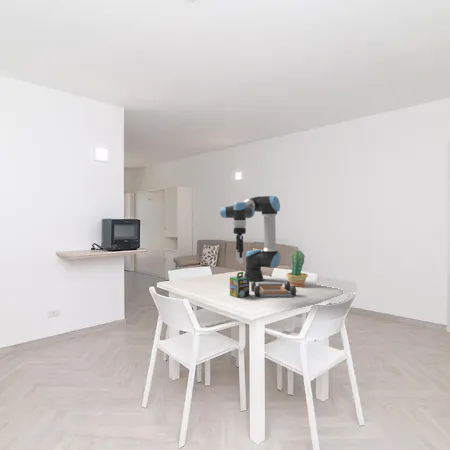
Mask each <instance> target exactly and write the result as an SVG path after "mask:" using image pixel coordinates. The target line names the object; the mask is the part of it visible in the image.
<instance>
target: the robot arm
mask: <svg viewBox="0 0 450 450" xmlns="http://www.w3.org/2000/svg"><path fill="white" fill-rule="evenodd" d="M280 209H281V203H280V200H279V198H278V197H277V196H276V195H268V196H267V195H264V196H263V195H262V196H255V197H251V198H247V199H246V200H244V201H243V202H239V201H238V202H234V203H233V205H230V206H222V207H221V208H220V211H219V212H220V217H221V218H223V219H224V218H225V219H233V222H232V224H233V234H234V235H236V237H235V240H236V242H235V243H236V244H235V249H236V250H235V251H236V252H235V256H236V257H235V261H238V262H237V263H238V264H244V251H245V250H244V236H243V235H245V234H246V232H247V231H246V230H247V229H246V226H247V219H251V218H253V217H254V215H255V213H256V212H257V213H260V212H261V215H262V216H263V239H264V240H263V246H264V247H263V248H262V250H261V249H253V250H252V249H251V250H248V251H246V254H245V271H244V274H243V276H244V277H248V278H249V282H262V281H264V275H263V272H262V268H269V269H277V268H278V267H279V265H280V263H281V257H282V256H281V253H280V252H279V250H278V248H277V247H276V246H277V245H276V244H277V242H276V241H277V240H276V238H277V237H276V235H277V234H276V216H277V215H278V212H279V211H280Z"/></svg>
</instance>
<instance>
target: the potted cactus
mask: <svg viewBox="0 0 450 450" xmlns="http://www.w3.org/2000/svg"><path fill="white" fill-rule="evenodd" d="M290 257H291V259H290V261H291V265H292V266H291V272H286V273H285V276H286V277H287V281H289V282H290V286H295V287H298V288H299V287H303V286H304V284H305V282H306V280H307V277H308V276H309V275H308V274H307V273H303V272H302V269H303V265H304V264H305V257H306V256H305V254H304V253H303V252H302V250H297V249H296V250H294V251H293V252H292V254H291V256H290Z"/></svg>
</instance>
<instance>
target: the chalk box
mask: <svg viewBox="0 0 450 450" xmlns="http://www.w3.org/2000/svg"><path fill="white" fill-rule="evenodd" d="M229 296H231V297H235V298H237V299H240V298H246V297H250V281H249V278H248V277H244V272H243V271H240V272H237V274H236V275H235V276H230V277H229Z"/></svg>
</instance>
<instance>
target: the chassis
mask: <svg viewBox="0 0 450 450" xmlns="http://www.w3.org/2000/svg"><path fill="white" fill-rule="evenodd" d="M256 282H257V281H250V289H251V292H253V293H254V294H253V295H254V297H259V298H260V299H266V298H267V299H269V298H271V299H272V298H273V299H274V298H275V299H276V298H277V297H281V298H294V296H296V295H297V288H296V287H295V286H291V285H290V284H291V283H290V282H289V280H286V281H284V285H283V283H282V282H257V283H256Z"/></svg>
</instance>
